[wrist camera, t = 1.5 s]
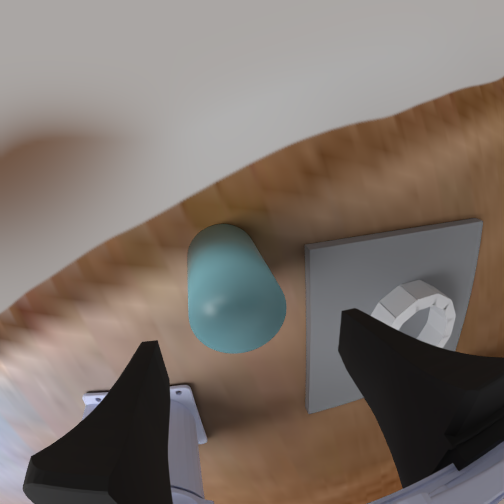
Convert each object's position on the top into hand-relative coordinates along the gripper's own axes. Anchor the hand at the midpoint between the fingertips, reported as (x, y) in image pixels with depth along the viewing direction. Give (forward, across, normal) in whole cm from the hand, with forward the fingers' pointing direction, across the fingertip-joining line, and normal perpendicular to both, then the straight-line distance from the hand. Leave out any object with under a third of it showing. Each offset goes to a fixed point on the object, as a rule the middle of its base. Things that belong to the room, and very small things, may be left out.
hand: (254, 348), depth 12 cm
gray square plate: (+10, -14, +8) cm, 19 cm away
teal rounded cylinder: (+10, 0, 0) cm, 10 cm away
